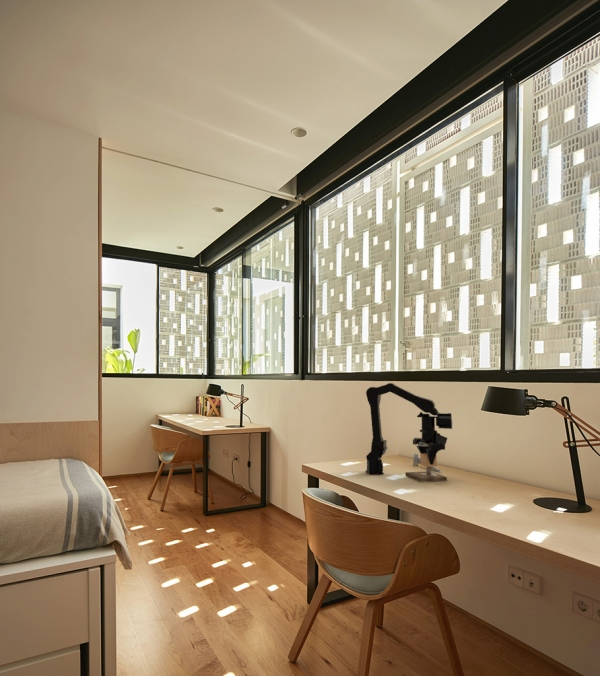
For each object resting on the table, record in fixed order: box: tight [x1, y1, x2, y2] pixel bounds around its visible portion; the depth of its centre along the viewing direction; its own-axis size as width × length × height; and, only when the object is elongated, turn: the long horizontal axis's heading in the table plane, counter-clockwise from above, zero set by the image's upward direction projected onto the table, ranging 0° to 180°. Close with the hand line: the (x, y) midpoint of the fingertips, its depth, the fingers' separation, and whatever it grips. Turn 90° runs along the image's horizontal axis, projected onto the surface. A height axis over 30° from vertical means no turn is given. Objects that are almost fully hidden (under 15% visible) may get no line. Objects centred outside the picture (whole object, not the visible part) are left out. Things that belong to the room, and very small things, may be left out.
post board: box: [405, 467, 448, 483], centre depth 203 cm, size 13×13×6 cm
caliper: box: [412, 453, 442, 473], centre depth 225 cm, size 20×1×6 cm, turn 24°
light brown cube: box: [420, 453, 438, 468], centre depth 204 cm, size 5×5×5 cm
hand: (428, 463), depth 204 cm, fingers closed on light brown cube, 5 cm apart
